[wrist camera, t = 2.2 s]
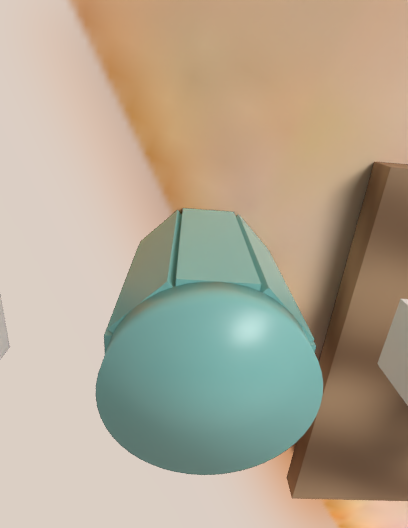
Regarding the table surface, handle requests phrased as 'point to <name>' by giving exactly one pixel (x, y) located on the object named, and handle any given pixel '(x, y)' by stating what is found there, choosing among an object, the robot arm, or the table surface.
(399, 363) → the robot arm
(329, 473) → the stud board
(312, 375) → the cap
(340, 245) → the table surface
